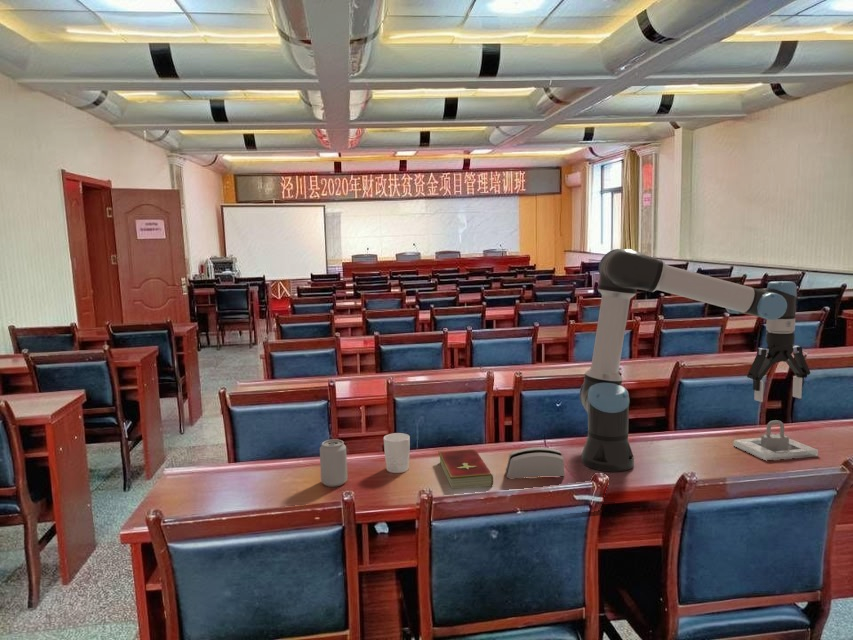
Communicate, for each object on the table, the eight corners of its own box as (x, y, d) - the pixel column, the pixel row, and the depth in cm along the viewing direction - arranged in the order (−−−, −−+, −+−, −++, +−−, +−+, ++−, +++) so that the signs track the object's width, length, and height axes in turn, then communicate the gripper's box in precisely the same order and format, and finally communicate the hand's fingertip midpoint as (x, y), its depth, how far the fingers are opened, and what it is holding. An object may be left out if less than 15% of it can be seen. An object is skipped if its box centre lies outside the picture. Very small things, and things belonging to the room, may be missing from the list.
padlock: (766, 453, 179) (768, 422, 178) (759, 449, 183) (760, 418, 182) (789, 453, 179) (791, 422, 177) (781, 448, 183) (783, 418, 181)
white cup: (387, 475, 169) (386, 442, 167) (382, 466, 176) (381, 434, 175) (413, 472, 171) (412, 439, 169) (407, 463, 178) (406, 431, 177)
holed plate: (765, 461, 172) (766, 454, 172) (733, 446, 186) (733, 440, 186) (817, 456, 175) (818, 449, 175) (782, 441, 189) (782, 435, 189)
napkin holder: (560, 470, 169) (563, 443, 165) (564, 481, 165) (568, 454, 161) (504, 472, 169) (505, 445, 164) (506, 483, 164) (508, 456, 160)
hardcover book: (476, 460, 180) (476, 447, 179) (493, 487, 159) (493, 472, 159) (438, 463, 178) (438, 450, 178) (450, 491, 158) (450, 476, 157)
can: (348, 477, 168) (347, 437, 167) (346, 487, 161) (344, 446, 159) (323, 478, 168) (321, 438, 166) (319, 488, 160) (317, 447, 159)
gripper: (753, 335, 170) (751, 405, 173) (826, 330, 175) (822, 398, 177) (735, 332, 178) (733, 399, 180) (805, 327, 182) (802, 393, 184)
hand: (777, 399), depth 179 cm, fingers open, 13 cm apart
